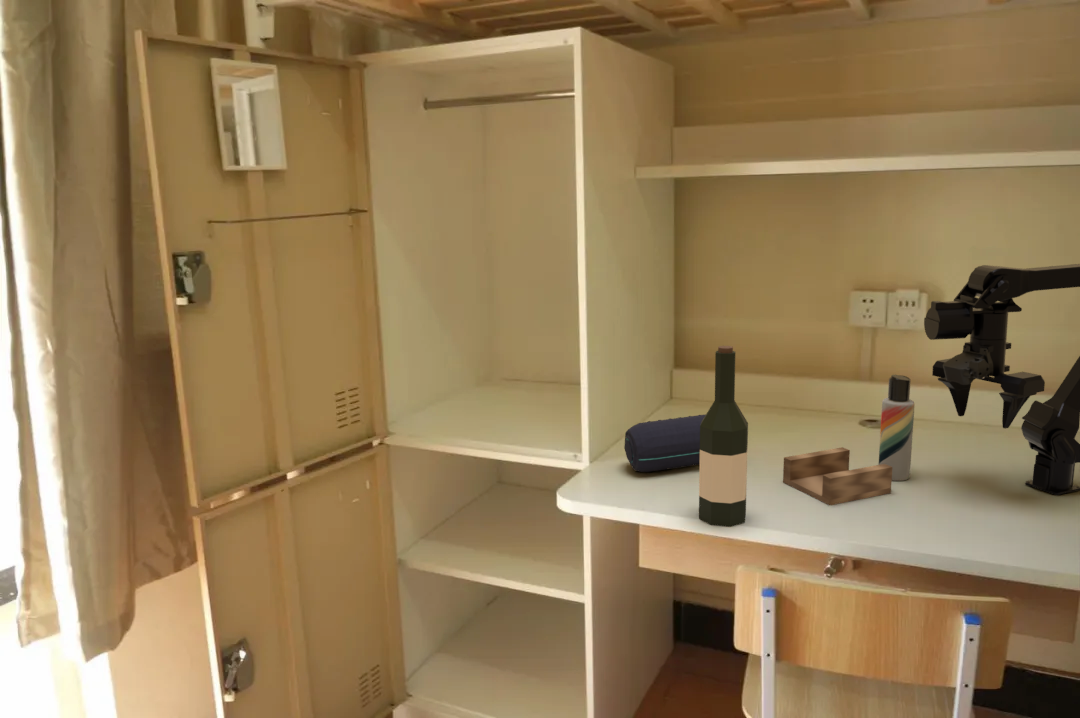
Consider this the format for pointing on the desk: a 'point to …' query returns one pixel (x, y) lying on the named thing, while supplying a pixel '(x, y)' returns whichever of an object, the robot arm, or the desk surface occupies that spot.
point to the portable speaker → (664, 444)
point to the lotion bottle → (897, 428)
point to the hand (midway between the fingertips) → (982, 421)
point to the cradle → (835, 476)
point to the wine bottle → (723, 450)
